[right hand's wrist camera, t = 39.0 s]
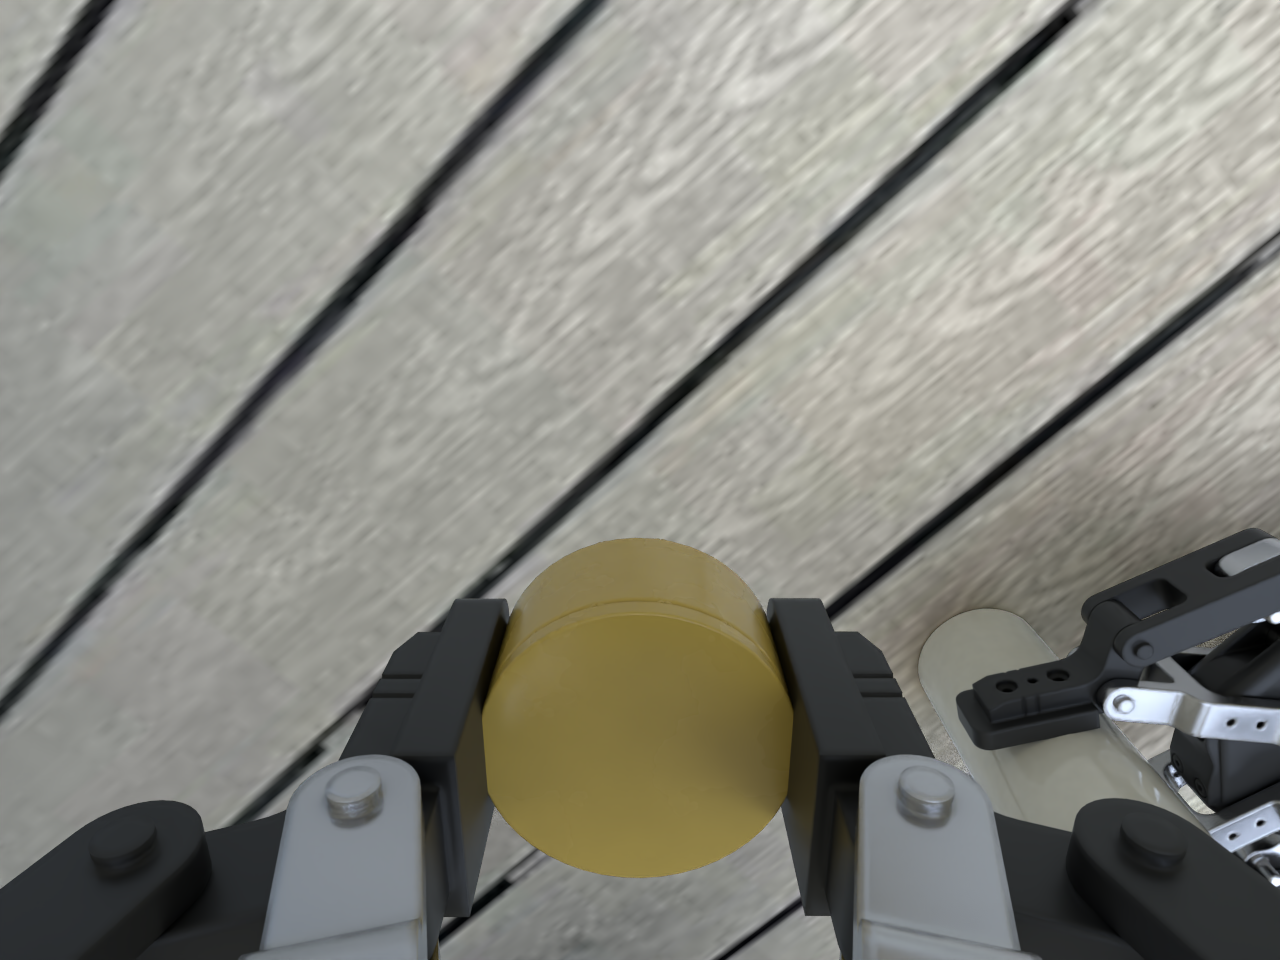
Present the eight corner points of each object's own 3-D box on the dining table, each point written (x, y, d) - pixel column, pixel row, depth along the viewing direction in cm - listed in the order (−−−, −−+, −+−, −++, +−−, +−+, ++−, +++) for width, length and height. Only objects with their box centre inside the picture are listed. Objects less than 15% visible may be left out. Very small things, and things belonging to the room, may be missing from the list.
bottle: (892, 668, 34) (1356, 1575, 12) (983, 584, 32) (1691, 1432, 11) (974, 732, 35) (1536, 1672, 13) (1065, 654, 34) (1860, 1552, 12)
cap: (710, 798, 13) (722, 913, 11) (469, 723, 13) (436, 828, 11) (818, 589, 12) (855, 676, 10) (555, 496, 11) (535, 566, 9)
